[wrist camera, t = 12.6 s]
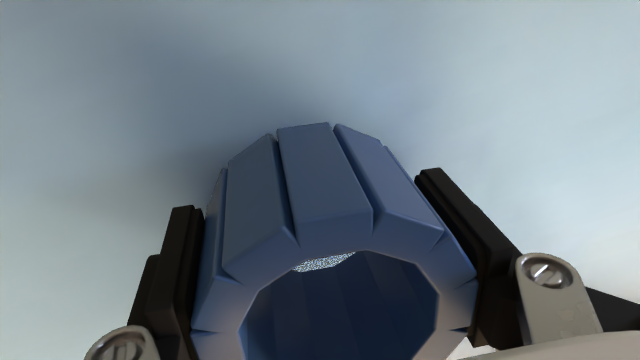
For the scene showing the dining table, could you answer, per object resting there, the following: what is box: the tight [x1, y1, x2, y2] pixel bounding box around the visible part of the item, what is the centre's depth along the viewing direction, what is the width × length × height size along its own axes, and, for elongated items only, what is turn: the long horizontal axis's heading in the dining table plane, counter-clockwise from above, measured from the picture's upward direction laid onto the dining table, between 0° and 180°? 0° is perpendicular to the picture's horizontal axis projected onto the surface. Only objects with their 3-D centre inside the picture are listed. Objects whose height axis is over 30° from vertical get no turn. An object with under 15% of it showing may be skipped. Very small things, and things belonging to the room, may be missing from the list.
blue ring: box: [190, 122, 479, 360], centre depth 11 cm, size 6×6×4 cm
